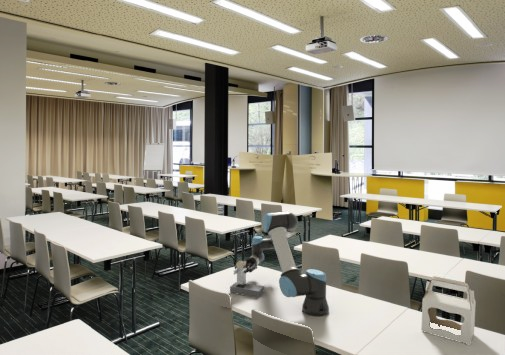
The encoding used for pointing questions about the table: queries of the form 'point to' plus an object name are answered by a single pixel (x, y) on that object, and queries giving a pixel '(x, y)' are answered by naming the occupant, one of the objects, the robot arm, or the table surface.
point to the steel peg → (240, 266)
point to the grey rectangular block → (247, 289)
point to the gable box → (449, 309)
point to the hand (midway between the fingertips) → (237, 273)
